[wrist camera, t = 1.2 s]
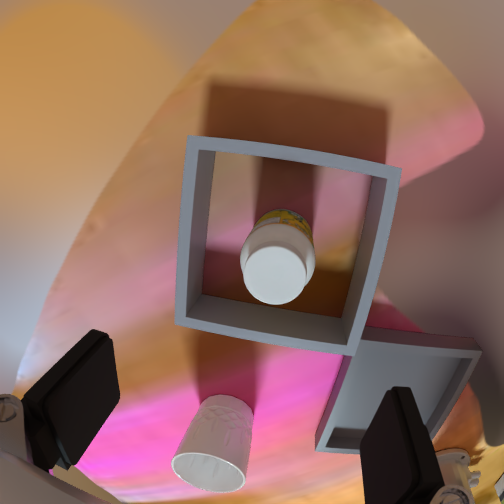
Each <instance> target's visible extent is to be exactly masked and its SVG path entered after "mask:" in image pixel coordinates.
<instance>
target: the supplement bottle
mask: <svg viewBox="0 0 504 504" xmlns="http://www.w3.org/2000/svg"><path fill="white" fill-rule="evenodd" d="M240 264H241V269H242V272H243V277H244V282H245V285H246V287H247V289H248V290H249V292H250V293H251V294H252V295H253V296H254V297H255V298H257V299H258V300H260V301H262V302H264V303H268V304H275V305H276V304H284V303H287V302H290V301H291V300H293V299H295V298H296V297H297V296H298V295H299V294H300V293H301V291H302V290H303V288H304V286H305V285H306V284H307V283H308V282H309V280H310V279H311V277H312V275H313V272H314V268H315V251H314V244H313V237H312V232H311V229H310V226H309V224H308V223H307V221H306V220H305V219H304V218H303V217H302V216H300V215H299V214H297V213H295V212H293V211H291V210H287V209H276V210H272V211H270V212H268V213H266V214H264V215H263V216H262V217H261V218H260V219H259V220H258V221H257V223H256V224H255V226H254V228H253V229H252V231H251V233H250V234H249V236H248V237H247V239H246V241H245V243H244V245H243V247H242V250H241V255H240Z"/></svg>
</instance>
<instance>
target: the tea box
mask: <svg viewBox="0 0 504 504" xmlns="http://www.w3.org/2000/svg"><path fill="white" fill-rule="evenodd" d="M495 489H496V491H497V494H498V496H499V498H500V501H501V504H504V474H503V475H502V477H501V478H500V479H499V481H498V482H497V483H496V484H495Z"/></svg>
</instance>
